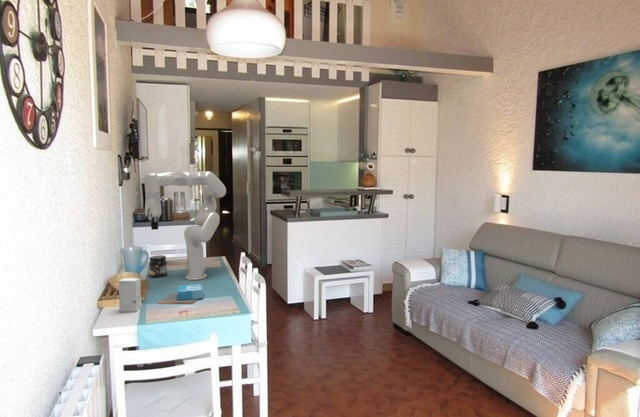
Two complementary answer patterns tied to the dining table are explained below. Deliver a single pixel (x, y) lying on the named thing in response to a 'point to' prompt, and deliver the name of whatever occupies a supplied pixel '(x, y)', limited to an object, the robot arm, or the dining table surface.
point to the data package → (190, 292)
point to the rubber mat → (176, 298)
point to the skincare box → (129, 295)
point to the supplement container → (158, 266)
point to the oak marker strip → (174, 302)
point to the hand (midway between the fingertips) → (154, 229)
